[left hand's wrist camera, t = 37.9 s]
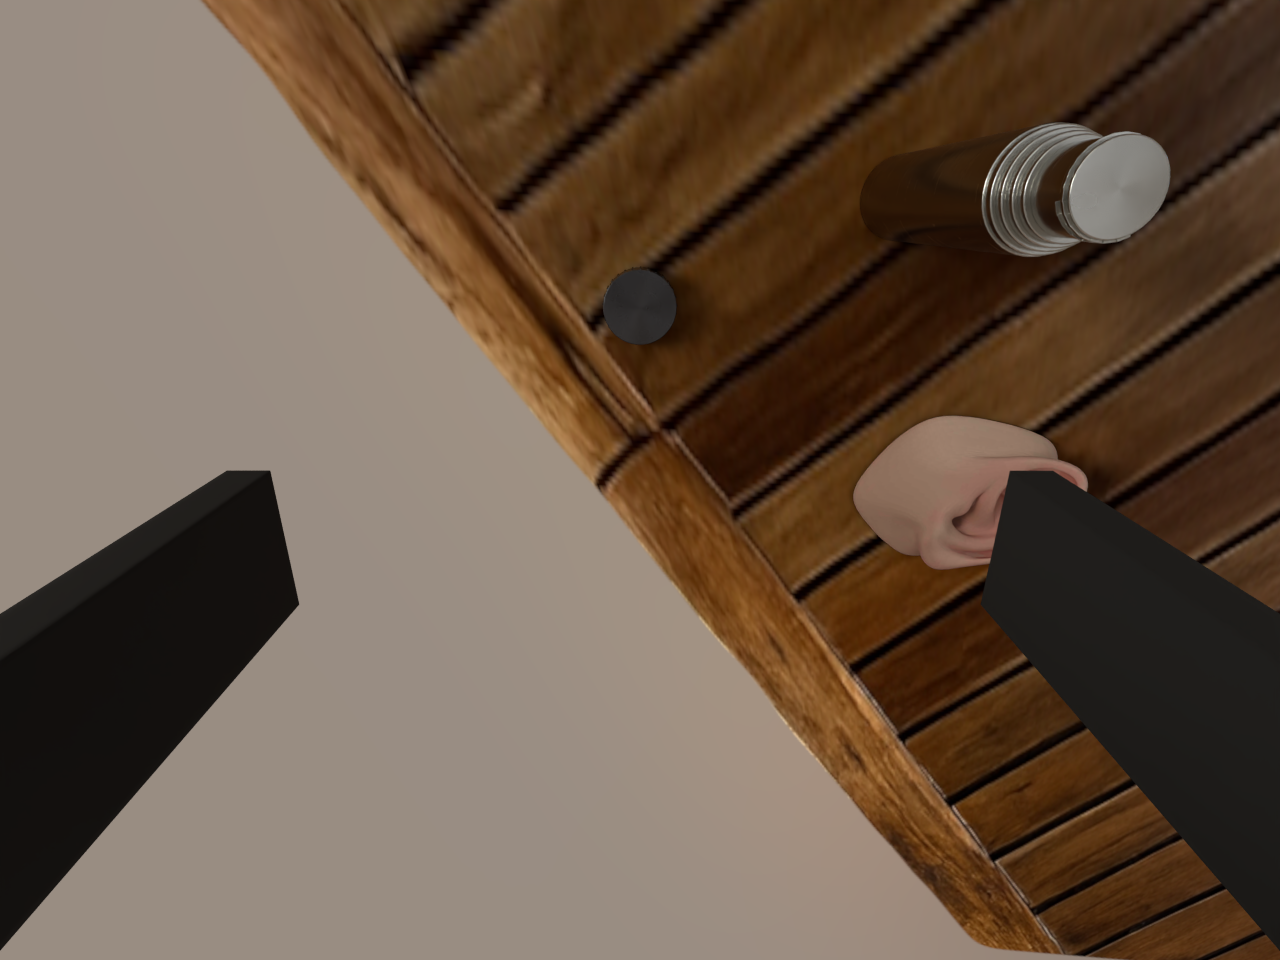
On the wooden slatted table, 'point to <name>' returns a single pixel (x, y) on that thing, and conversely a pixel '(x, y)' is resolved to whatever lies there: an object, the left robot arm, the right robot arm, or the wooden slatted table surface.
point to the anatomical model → (951, 486)
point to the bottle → (1019, 191)
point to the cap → (639, 306)
